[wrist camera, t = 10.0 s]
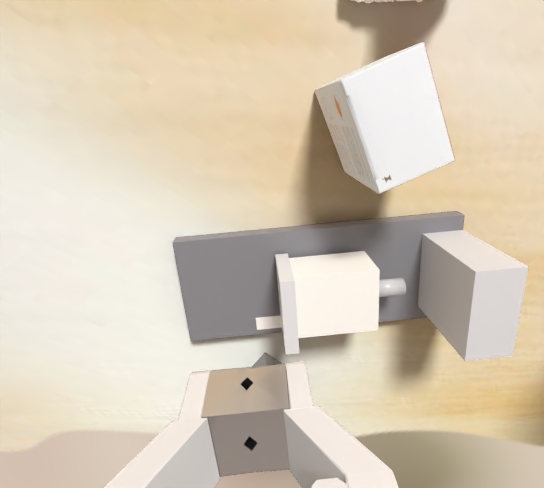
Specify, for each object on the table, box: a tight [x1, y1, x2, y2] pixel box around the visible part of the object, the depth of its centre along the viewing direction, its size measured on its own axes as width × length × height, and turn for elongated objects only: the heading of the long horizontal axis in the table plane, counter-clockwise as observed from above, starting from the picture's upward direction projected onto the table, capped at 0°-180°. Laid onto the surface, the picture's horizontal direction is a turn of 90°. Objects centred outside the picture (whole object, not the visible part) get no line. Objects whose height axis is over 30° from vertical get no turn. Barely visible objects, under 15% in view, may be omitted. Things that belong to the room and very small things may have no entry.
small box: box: [315, 42, 455, 194], centre depth 28 cm, size 8×6×10 cm
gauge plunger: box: [275, 251, 406, 355], centre depth 34 cm, size 12×9×6 cm
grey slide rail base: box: [173, 211, 528, 361], centre depth 33 cm, size 28×11×10 cm, turn 95°
